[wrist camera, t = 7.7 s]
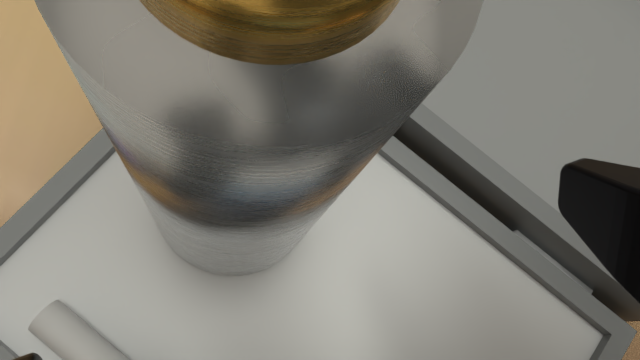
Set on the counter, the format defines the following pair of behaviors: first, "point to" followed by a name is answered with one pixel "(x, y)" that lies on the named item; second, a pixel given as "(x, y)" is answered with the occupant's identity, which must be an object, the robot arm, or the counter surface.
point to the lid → (291, 279)
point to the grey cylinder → (253, 105)
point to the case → (538, 118)
